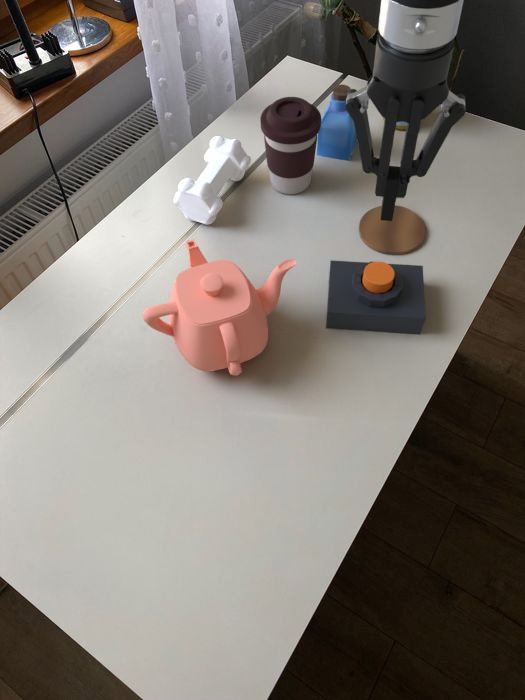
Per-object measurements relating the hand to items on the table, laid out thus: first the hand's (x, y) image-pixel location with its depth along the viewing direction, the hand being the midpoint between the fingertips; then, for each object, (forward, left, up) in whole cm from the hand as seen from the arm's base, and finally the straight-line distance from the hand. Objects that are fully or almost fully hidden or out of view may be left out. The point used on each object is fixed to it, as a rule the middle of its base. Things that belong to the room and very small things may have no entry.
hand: (386, 213), depth 78 cm
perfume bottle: (+7, -36, -19) cm, 41 cm away
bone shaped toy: (+28, -21, -19) cm, 39 cm away
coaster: (-3, -15, -18) cm, 24 cm away
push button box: (0, +1, -18) cm, 18 cm away
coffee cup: (+15, -26, -19) cm, 35 cm away
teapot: (+22, +8, -19) cm, 30 cm away
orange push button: (0, +1, -13) cm, 13 cm away
